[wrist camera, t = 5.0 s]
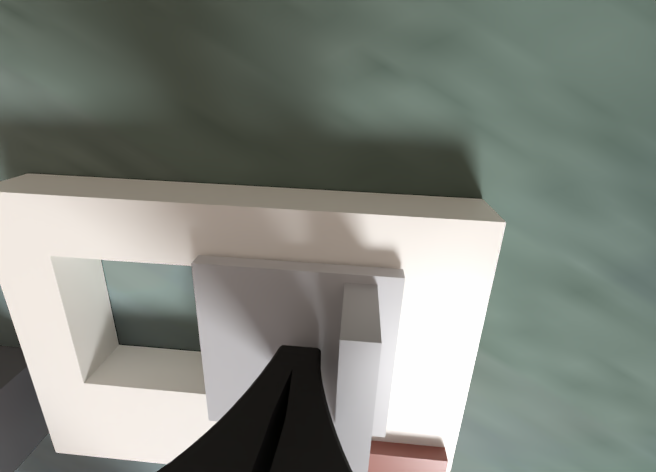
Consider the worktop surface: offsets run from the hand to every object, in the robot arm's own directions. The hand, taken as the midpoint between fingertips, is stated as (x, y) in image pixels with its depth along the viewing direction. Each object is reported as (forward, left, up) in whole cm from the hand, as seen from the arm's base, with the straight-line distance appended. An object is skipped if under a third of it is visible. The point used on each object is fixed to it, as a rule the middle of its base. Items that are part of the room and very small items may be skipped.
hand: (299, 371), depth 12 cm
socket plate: (-1, +3, -4) cm, 5 cm away
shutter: (0, 0, -1) cm, 1 cm away
